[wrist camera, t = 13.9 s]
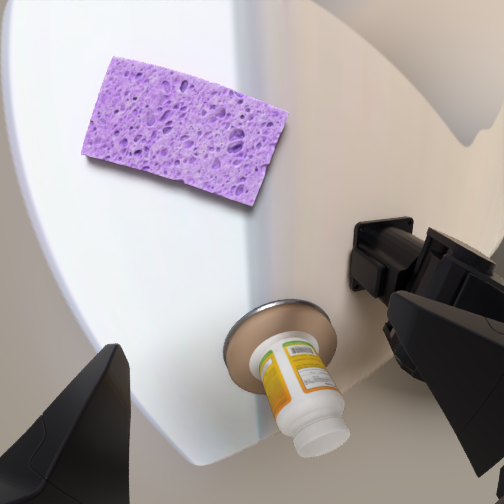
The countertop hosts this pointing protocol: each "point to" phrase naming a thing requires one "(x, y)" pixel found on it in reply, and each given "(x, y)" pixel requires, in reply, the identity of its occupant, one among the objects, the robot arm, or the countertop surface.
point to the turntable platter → (276, 339)
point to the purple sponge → (183, 129)
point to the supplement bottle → (303, 397)
